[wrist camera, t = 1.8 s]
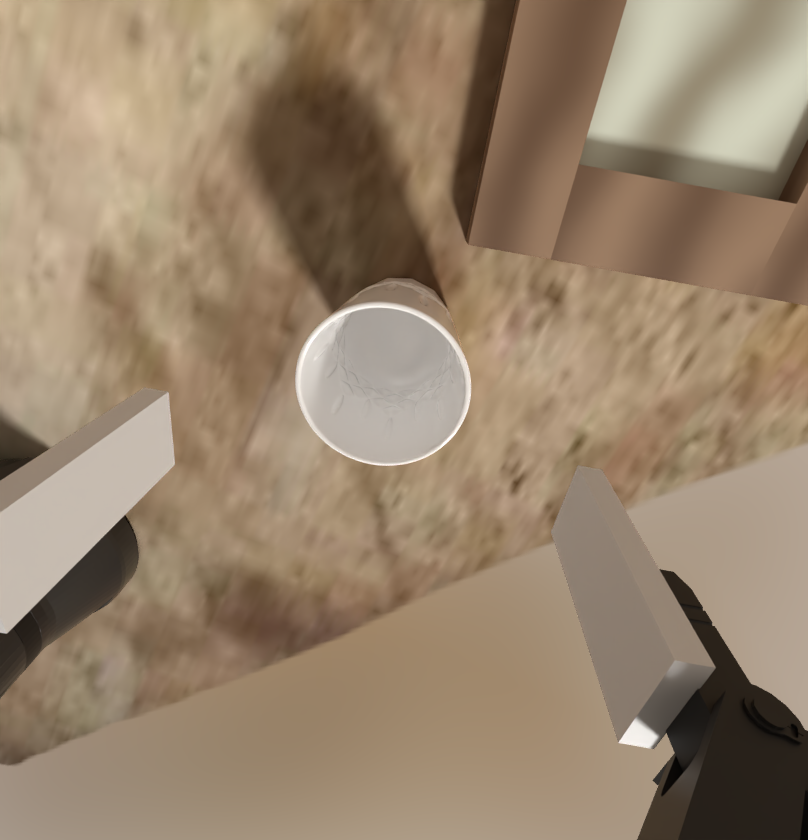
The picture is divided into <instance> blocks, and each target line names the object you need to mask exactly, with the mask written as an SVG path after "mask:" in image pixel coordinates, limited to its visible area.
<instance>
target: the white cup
mask: <svg viewBox="0 0 808 840" xmlns="http://www.w3.org/2000/svg"><path fill="white" fill-rule="evenodd" d="M295 387H296V394H297V398H298V402H299V405H300V408H301V410H302V413H303V415H304V417H305V418H306V420H307V422H308V423H309V425H310V426H311V428H312V429H313V430H314V432H315V433H316V434H317V435H318V436H319V437H320V438H321V439H322V440H323V441H324V442H325V443H326V444H328V445H329V446H330V447H332V448H333V449H334V450H336V451H338V452H339V453H341V454H343V455H345V456H347V457H349V458H351V459H354V460H357V461H360V462H364V463H368V464H373V465H384V466H391V465H402V464H407V463H411V462H415V461H418V460H420V459H423V458H425V457H427V456H429V455H431V454H433V453H434V452H436V451H437V450H439V449H440V448H442V447H443V446H444V445H445V444H446V443H447V442H448V441H449V440H450V439H451V438H452V437H453V436H454V435H455V434H456V432H457V431H458V429H459V428H460V426H461V424H462V423H463V421H464V418H465V416H466V414H467V411H468V407H469V403H470V397H471V378H470V372H469V367H468V364H467V361H466V358H465V354H464V351H463V348H462V344H461V341H460V338H459V335H458V332H457V329H456V327H455V324H454V322H453V320H452V318H451V316H450V314H449V310H448V309H447V307H446V306H445V305H444V303H443V302H442V300H441V299H440V298H439V296H438V295H437V294H436V292H435V291H434V290H433V289H431V288H429V287H427V286H425V285H423V284H422V283H420V282H418V281H416V280H414V279H412V278H386V279H384V280H382V281H380V282H378V283H375V284H373V285H371V286H369V287H367V288H365V289H363V290H362V291H360V292H359V293H357V294H356V295H354V296H353V297H352V298H350V299H349V300H347V301H346V302H345V303H344V304H343V305H341V306H340V307H339V308H338V309H337V310H336V311H334V312H333V313H332V314H331V315H330V316H328V317H327V318H326V319H325V320H324V321H322V322H321V323H320V324H319V325H318V326H317V327H316V328H315V329H314V330H313V331H312V333H311V334H310V335H309V337H308V338H307V340H306V341H305V343H304V345H303V347H302V349H301V352H300V354H299V357H298V361H297V366H296V373H295Z"/></svg>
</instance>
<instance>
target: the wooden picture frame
mask: <svg viewBox="0 0 808 840" xmlns="http://www.w3.org/2000/svg"><path fill="white" fill-rule="evenodd" d="M466 242H467V243H468V245H473V246H479V247H484V248H490V249H496V250H501V251H507V252H512V253H518V254H523V255H529V256H535V257H540V258H546V259H551V260H557V261H562V262H568V263H574V264H579V265H585V266H590V267H596V268H601V269H607V270H613V271H618V272H624V273H629V274H635V275H640V276H646V277H651V278H657V279H663V280H668V281H674V282H679V283H685V284H690V285H696V286H702V287H707V288H713V289H718V290H724V291H729V292H735V293H741V294H746V295H752V296H757V297H763V298H768V299H774V300H780V301H785V302H791V303H796V304H802V305H807V306H808V0H516V3H515V7H514V12H513V17H512V22H511V27H510V31H509V36H508V41H507V46H506V51H505V55H504V60H503V65H502V70H501V74H500V79H499V84H498V89H497V94H496V98H495V103H494V108H493V113H492V118H491V122H490V127H489V132H488V137H487V142H486V146H485V151H484V156H483V161H482V165H481V170H480V175H479V180H478V185H477V189H476V194H475V199H474V204H473V209H472V213H471V218H470V223H469V228H468V233H467V237H466Z"/></svg>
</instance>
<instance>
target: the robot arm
mask: <svg viewBox="0 0 808 840" xmlns="http://www.w3.org/2000/svg"><path fill="white" fill-rule="evenodd" d="M174 465H175V460H174V449H173V438H172V427H171V416H170V405H169V394H168V392H166V391H161V390H155V389H149V388H143V389H141V390H140V391H138V392H137V393H135V394H134V395H132V396H131V397H129V398H127V399H126V400H124V401H123V402H121V403H120V404H118V405H117V406H115V407H114V408H112V409H110V410H109V411H107V412H106V413H104V414H103V415H101V416H100V417H98V418H97V419H95V420H93V421H92V422H90V423H89V424H87V425H86V426H84V427H83V428H81V429H80V430H78V431H76V432H75V433H73V434H72V435H70V436H69V437H67V438H66V439H64V440H62V441H61V442H59V443H58V444H56V445H55V446H53V447H52V448H50V449H49V450H47V451H45V452H44V453H42V454H41V455H39V456H38V457H36V458H35V459H33V458H26V459H23V460H17V459H11V460H1V461H0V698H1V697H2V696H3V695H4V694H5V692H6V691H7V690H8V689H9V688H10V687H11V685H12V684H13V683H14V682H15V681H16V680H17V678H18V677H19V676H20V675H21V674H22V673H23V672H24V671H25V669H26V668H27V667H28V666H29V665H30V664H31V663H32V661H33V660H34V659H35V658H36V657H37V655H38V654H39V653H40V652H41V651H42V650H43V649H44V648H45V647H46V646H48V645H49V644H50V643H52V642H53V641H55V640H56V639H58V638H59V637H60V636H62V635H63V634H65V633H66V632H67V631H69V630H70V629H72V628H73V627H75V626H76V625H77V624H79V623H80V622H81V621H83V620H84V619H86V618H87V617H88V616H89V615H91V614H92V613H94V612H96V611H98V610H99V609H101V608H103V607H104V606H106V605H108V604H109V603H110V602H111V601H112V600H113V599H114V598H115V597H116V596H117V595H118V594H119V593H120V592H121V590H122V589H123V588H124V587H125V585H126V584H127V583H128V582H129V580H130V579H131V578H132V576H133V575H134V573H135V571H136V568H137V565H138V546H137V542H136V538H135V536H134V533H133V531H132V529H131V527H130V525H129V524H128V522H127V520H126V519H125V517H124V515H125V514H126V513H127V512H128V511H129V510H130V509H131V508H132V507H133V506H134V505H135V504H136V503H137V502H138V501H139V500H140V499H141V498H142V497H143V496H144V495H145V494H146V493H147V492H148V491H149V490H150V489H151V488H152V487H153V486H154V485H155V484H156V483H157V482H158V481H159V480H160V479H161V478H162V477H163V476H164V475H165V474H166V473H167V472H168V471H169V470H170V469H171V468H172V467H173V466H174ZM551 533H552V536H553V539H554V542H555V545H556V549H557V552H558V555H559V558H560V561H561V564H562V567H563V570H564V574H565V577H566V580H567V583H568V586H569V589H570V593H571V596H572V599H573V602H574V605H575V608H576V611H577V615H578V618H579V621H580V624H581V627H582V630H583V633H584V637H585V639H586V643H587V646H588V649H589V652H590V655H591V658H592V662H593V665H594V668H595V671H596V674H597V677H598V680H599V684H600V687H601V690H602V693H603V696H604V699H605V702H606V706H607V709H608V712H609V715H610V718H611V721H612V724H613V727H614V731H615V734H616V737H617V740H618V743H623V744H629V745H634V746H640V747H645V748H651V749H654V748H655V747H656V746H657V744H658V743H659V742H660V740H661V739H662V738H663V737H664V735H665V734H666V733H667V735H668V738H669V740H670V742H671V745H672V747H673V750H674V752H675V754H674V755H673V756H672V757H671V758H670V760H669V761H668V762H667V763H666V765H665V766H664V767H663V768H662V770H661V771H660V772H659V773H658V775H657V776H656V777H655V778H654V779H653V781H654V782H655V783H656V784H657V785H659V786H658V788H657V791H656V793H655V796H654V798H653V801H652V804H651V806H650V809H649V811H648V814H647V816H646V819H645V821H644V824H643V826H642V829H641V832H640V834H639V836H638V839H637V840H808V731H806V730H805V729H804V728H803V726H802V724H801V722H800V721H799V720H798V718H797V717H796V716H795V715H794V714H793V713H792V712H791V711H790V709H789V708H788V707H787V706H786V705H785V704H783V703H782V702H781V701H779V700H778V699H777V698H776V697H774V696H773V695H772V694H770V693H769V692H767V691H765V690H763V689H761V688H759V687H757V686H755V685H752V684H751V683H750V682H749V680H748V679H747V677H746V675H745V674H744V672H743V671H742V669H741V667H740V666H739V664H738V663H737V661H736V659H735V658H734V656H733V655H732V653H731V651H730V650H729V648H728V647H727V645H726V644H725V642H724V640H723V639H722V637H721V636H720V634H719V632H718V631H717V629H716V628H715V626H712V621H711V620H710V618H709V616H708V615H707V613H706V612H705V611H703V607H702V605H701V604H700V602H699V601H698V599H697V597H696V596H695V594H694V593H693V591H692V589H691V588H690V587H689V586H688V585H687V584H686V583H684V582H683V581H682V580H681V579H680V578H679V577H678V576H677V575H676V574H675V573H674V572H671V571H666V570H660V569H659V568H658V566H657V565H656V563H655V561H654V559H653V558H652V556H651V554H650V552H649V551H648V549H647V547H646V545H645V544H644V542H643V540H642V538H641V537H640V535H639V533H638V532H637V530H636V528H635V527H634V525H633V523H632V521H631V519H630V518H629V516H628V514H627V512H626V511H625V509H624V507H623V505H622V504H621V502H620V500H619V499H618V497H617V495H616V493H615V492H614V490H613V488H612V486H611V485H610V483H609V481H608V479H607V478H606V476H605V474H604V472H603V471H602V470H601V469H595V468H589V467H584V466H578V467H577V469H576V472H575V474H574V477H573V479H572V482H571V484H570V487H569V489H568V492H567V494H566V497H565V499H564V502H563V504H562V506H561V509H560V511H559V514H558V516H557V519H556V521H555V524H554V526H553V529H552V531H551Z"/></svg>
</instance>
